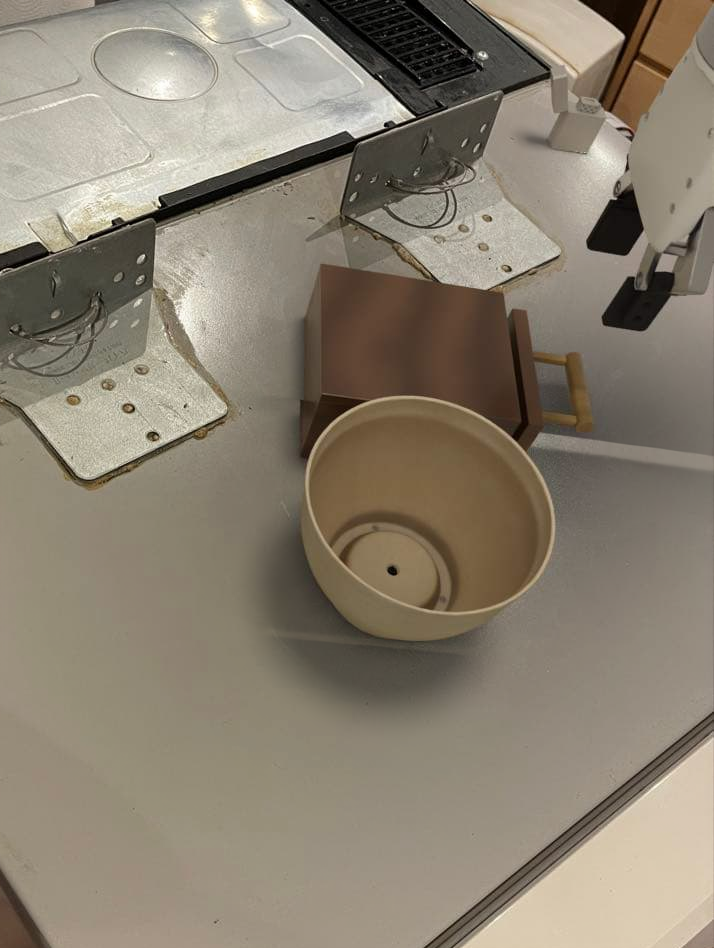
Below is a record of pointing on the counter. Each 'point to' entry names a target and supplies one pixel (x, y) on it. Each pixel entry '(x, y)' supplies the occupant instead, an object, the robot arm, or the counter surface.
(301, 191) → the counter surface
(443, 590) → the planter bowl
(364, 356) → the cabinet
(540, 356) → the drawer
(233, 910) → the counter surface
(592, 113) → the lighter
